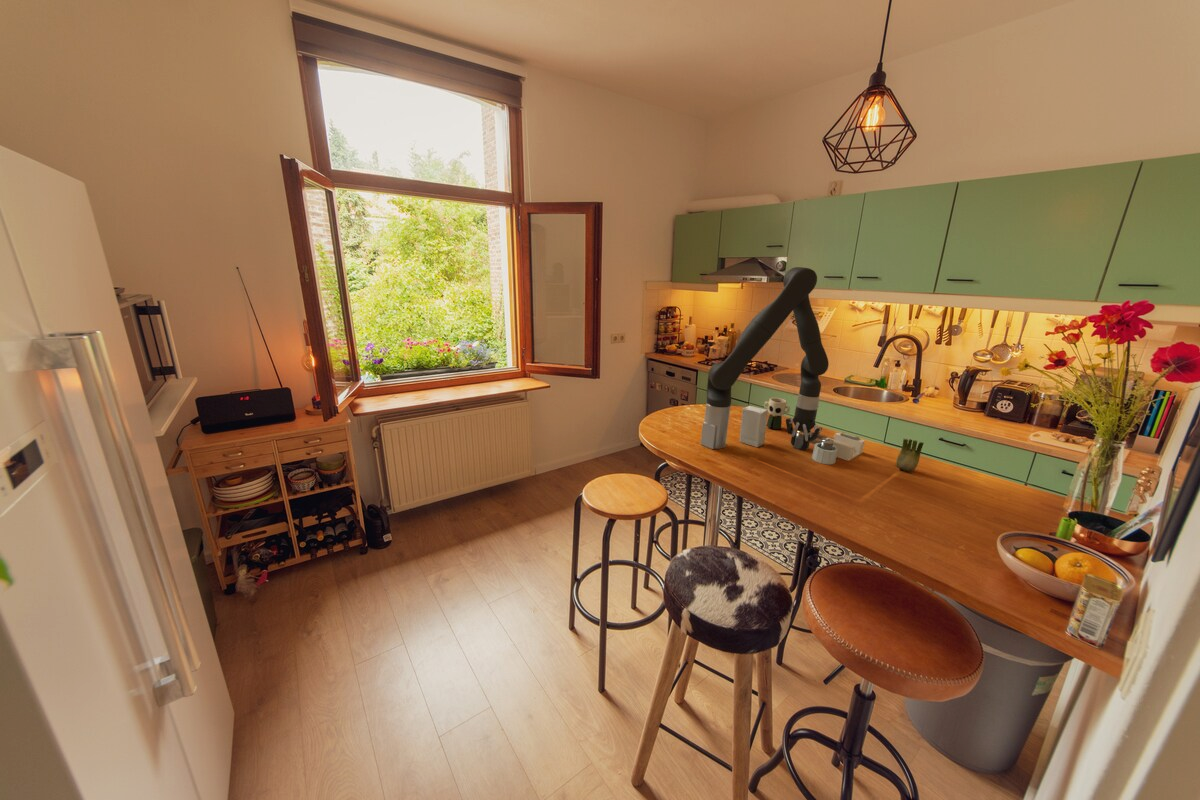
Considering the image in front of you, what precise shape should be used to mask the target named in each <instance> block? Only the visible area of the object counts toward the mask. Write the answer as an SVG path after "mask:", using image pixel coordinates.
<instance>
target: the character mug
mask: <svg viewBox="0 0 1200 800" xmlns="http://www.w3.org/2000/svg"><path fill="white" fill-rule="evenodd" d="M787 402H788V401H787V400H786V399H783V398H781V397H780V398H779V397H770V398H769V400H768V401H764V406H763V409H766V410H768V412H767V414H769V415H768V417H767V422H766V428H769V429H771V427H772V429H773V430H780V429H781V428H782V424H783V423H782V422H783V421H782V419H783V418H782V416H784V415H785V414H790V412H791V411H790V410H791V406H788V405H787ZM767 405H768V406H767Z"/></svg>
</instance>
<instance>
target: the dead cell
mask: <svg viewBox="0 0 1200 800" xmlns="http://www.w3.org/2000/svg"><path fill="white" fill-rule="evenodd" d="M829 438H830V437H829ZM829 438H822V440H821V444H820V448H821V449H824V450H829V451H830V450H832V447H833V443H834V441H833V440H832V439H833V438H832V439H829Z"/></svg>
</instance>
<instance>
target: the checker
mask: <svg viewBox="0 0 1200 800" xmlns="http://www.w3.org/2000/svg"><path fill="white" fill-rule="evenodd" d="M831 438H832V437H829V439H831ZM832 440H833V441H834V443H833V445H834V446H835V447H837V448H838V452H837V457H836V458H838V459H841V460H845V461H847V462H848V461H851V460H852V459H855V458H857V457H858V456H859V455H861V454H862V453H863V450H864V445H865V440H864V439H860V436H857V435H853V434H850V433H848V432H844V431H842V432H836V433H834V435H833V438H832Z"/></svg>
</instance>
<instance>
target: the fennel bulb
mask: <svg viewBox="0 0 1200 800" xmlns="http://www.w3.org/2000/svg"><path fill="white" fill-rule="evenodd" d="M917 444H918V445H917ZM924 444H925V443H924V442H923V441H919V442H918V440H917V439H912V438H903V441H902V447H901V449H900V451H899V453H898V456H897V457H896V462H895V463H896V464H895V465H896V467H897V468H898V469H899V470H900V471H904V472H908V473H909V472H914V471H915V470H916V468H917V467H918V465H919V462H920V457H921V454H922V449H923V446H924Z"/></svg>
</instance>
